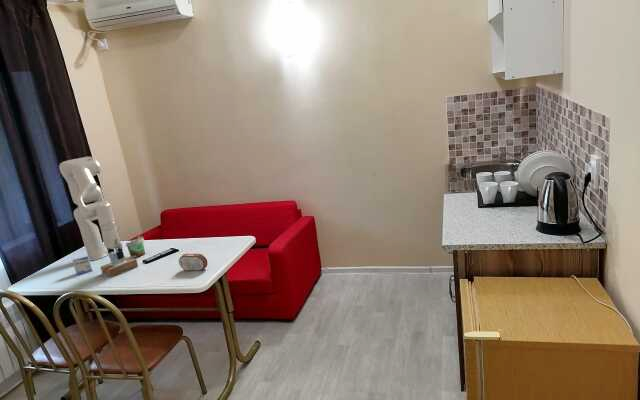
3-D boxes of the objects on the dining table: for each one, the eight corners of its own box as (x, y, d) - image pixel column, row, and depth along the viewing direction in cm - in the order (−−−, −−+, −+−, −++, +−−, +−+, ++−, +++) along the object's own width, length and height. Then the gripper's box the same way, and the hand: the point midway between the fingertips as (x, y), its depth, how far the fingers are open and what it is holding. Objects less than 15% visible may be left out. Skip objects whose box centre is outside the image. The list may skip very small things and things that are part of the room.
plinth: (102, 273, 243) (100, 266, 242) (127, 263, 254) (125, 256, 253) (113, 277, 236) (110, 269, 235) (138, 266, 246) (136, 259, 245)
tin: (209, 268, 226) (205, 252, 224) (205, 271, 223) (202, 255, 221) (183, 269, 231) (180, 253, 229) (180, 271, 228) (176, 255, 226)
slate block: (111, 264, 244) (108, 253, 242) (120, 260, 247) (117, 250, 246) (115, 265, 240) (112, 254, 239) (125, 261, 244) (122, 251, 242)
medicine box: (76, 275, 248) (72, 260, 245) (76, 273, 251) (72, 258, 249) (92, 271, 251) (88, 256, 249) (92, 268, 255) (88, 254, 253)
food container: (139, 259, 258) (135, 242, 256) (130, 259, 260) (125, 243, 257) (151, 251, 270) (147, 235, 268) (142, 251, 271) (138, 235, 269)
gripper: (93, 227, 242) (102, 258, 246) (109, 230, 231) (117, 262, 235) (107, 223, 247) (115, 252, 251) (123, 225, 236) (131, 256, 240)
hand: (116, 257), depth 243 cm, fingers open, 9 cm apart
